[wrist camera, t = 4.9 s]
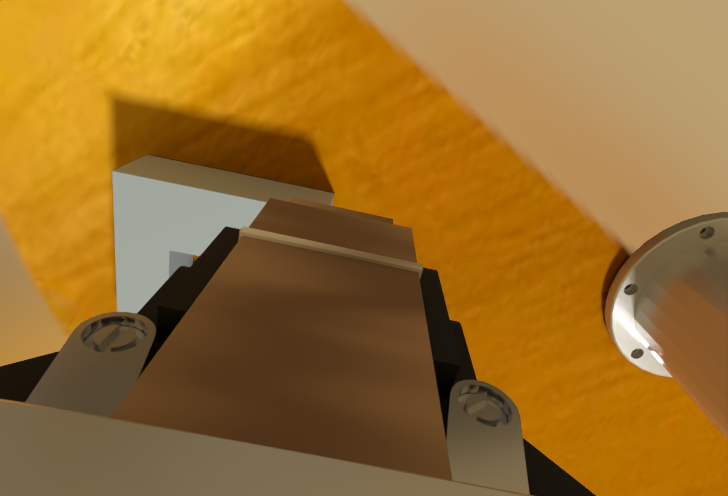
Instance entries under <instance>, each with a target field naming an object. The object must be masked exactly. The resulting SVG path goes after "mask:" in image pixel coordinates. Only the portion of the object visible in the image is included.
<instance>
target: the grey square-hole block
mask: <svg viewBox="0 0 728 496" xmlns="http://www.w3.org/2000/svg"><path fill="white" fill-rule="evenodd" d="M112 177H113V206H114V234H115V262H116V291H117V312H130V313H136V314H137V313H138V312H139V311H140V309H141V308H142V307H143V306H144V305H145V304H146V303H147V302H148V301H149V300H150V298H151V297H152V296H153V295H154V294H155V293H156V292H157V291H158V290H159V289H160V287H161V286H162V285H163V284H164V283H165V282H166V281H167V280H168V279H169V278H170V276H171V275H172V274H173V273H174V272H175V271H176V270H177V269H178V268H179V267H180V266H187V267H191V266H192V265H193V258H194V255H196V256H200V255H201V254H202V253H203V252H204V251H205V249H206V248H207V247H208V246H209V245H210V244H211V242H212V241H213V240H214V239H215V238H216V237H217V235H218V234H219V233H220V232H221V231H222V230H223V229H224V227H226V226H227V227H232V228H237V229H242V227H243V226H244V227H249V226H250V225H251V223H252V222H253V221H254V219H255V218H256V217H257V215H258V214H259V212H260V211H261V210H262V208H263V207H264V206H265V204H266V203H267V201H268V200H269V199H270V198H273V199H278V200H282V201H287V202H290V201H291V199H292V198H297V199H301V200H306V201H311V202H315V203H320V204H325V205H329V206H332V204H333V198H334V193H331V192H326V191H321V190H316V189H311V188H307V187H302V186H297V185H292V184H287V183H282V182H278V181H273V180H268V179H263V178H258V177H253V176H248V175H244V174H239V173H234V172H229V171H224V170H219V169H215V168H210V167H205V166H200V165H195V164H190V163H185V162H181V161H176V160H171V159H166V158H161V157H156V156H152V155H145V156H143V157H141V158H139V159H137V160H135V161H132V162H130V163H128V164H126V165H124V166H122V167H120V168H118V169H115V170H113V171H112Z"/></svg>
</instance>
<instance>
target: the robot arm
mask: <svg viewBox="0 0 728 496" xmlns="http://www.w3.org/2000/svg"><path fill="white" fill-rule="evenodd" d="M240 230H241V229H237V228H232V227H227V226H226V227H224V229H223V230H222V231H221V232H220V233H219V234H218V235H217V237H216V238H215V239H214V240H213V241H212V242H211V244H210V245H209V246H208V247H207V248H206V249H205V251H204V252H203V253H202V254H201V255H200V256H199V258H198V259H197V260H196V261H195V262H194V263H193V265H192V266H191V267H187V266H180V267H179V268H178V269H177V270H176V271H175V272H174V273H173V274H172V275H171V276H170V278H169V279H168V280H167V281H166V282H165V283H164V284H163V285H162V286H161V287H160V289H159V290H158V291H157V292H156V293H155V294H154V295H153V296H152V297H151V298H150V300H149V301H148V302H147V303H146V304H145V305H144V306H143V307H142V308H141V309H140V311H139V312H138V313H137V314H136V313H130V312H111V313H105V314H100V315H98V316H95V317H92V318H89V319H88V320H86V321H84V322H82V323H81V324H80V325H79V326H78V327H77V328H76V329H75V330H74V331H73V332H72V334H71V335H70V337H69V338H68V340H67V341H66V343H65V344H64V346H63V347H62V348H61V350H60V351H59V352H55V353H51V354H47V355H43V356H39V357H35V358H32V359H28V360H24V361H20V362H16V363H13V364H9V365H5V366H1V367H0V496H596V495H594V494H593V493H592V492H590V491H589V490H588V489H587V488H585V487H584V486H583V485H582V484H580V483H579V482H578V481H577V480H575V479H574V478H573V477H571V476H570V475H569V474H568V473H566V472H565V471H564V470H563V469H561V468H560V467H559V466H558V465H556V464H555V463H554V462H553V461H551V460H550V459H549V458H547V457H546V456H545V455H544V454H542V453H541V452H540V451H539V450H537V449H536V448H535V447H534V446H532V445H531V444H530V443H529V442H527V441H526V440H525V439H523V437H522V429H521V421H520V415H519V412H518V409H517V407H516V406H515V404H514V403H513V401H512V400H511V399H510V398H509V397H508V396H507V395H506V394H505V393H504V392H502V391H501V390H499V389H498V388H496V387H495V386H492V385H490V384H488V383H485V382H482V381H477V379H476V376H475V372H474V369H473V365H472V362H471V358H470V355H469V351H468V348H467V344H466V341H465V337H464V334H463V330H462V327H461V324H460V323H459V322H457V321H452V320H449V316H448V312H447V308H446V304H445V300H444V296H443V292H442V288H441V284H440V280H439V276H438V272H437V270H432V269H427V268H423V267H422V268H423V271H422V275H421V278H420V284H421V290H422V296H423V303H424V309H425V315H426V321H427V327H428V333H429V339H430V345H431V351H432V358H433V364H434V370H435V376H436V382H437V388H438V394H439V400H440V407H441V413H442V419H443V425H444V431H445V437H446V443H447V449H448V455H449V462H450V468H451V474H452V480H449V479H444V478H438V477H433V476H428V475H423V474H417V473H412V472H407V471H401V470H396V469H390V468H385V467H379V466H374V465H369V464H363V463H358V462H352V461H347V460H341V459H336V458H331V457H325V456H320V455H314V454H309V453H303V452H298V451H292V450H287V449H281V448H276V447H270V446H265V445H259V444H254V443H248V442H243V441H237V440H232V439H226V438H221V437H215V436H210V435H204V434H199V433H193V432H188V431H182V430H176V429H171V428H165V427H160V426H154V425H149V424H143V423H137V422H132V421H126V420H120V419H115V418H110V416H111V415H112V414H113V412H114V411H115V409H116V408H117V407H118V405H119V404H120V403H121V401H122V400H123V399H124V397H125V396H126V394H127V393H128V392H129V390H130V389H131V388H132V386H133V385H134V383H135V382H136V381H137V379H138V378H139V377H140V375H141V374H142V373H143V371H144V370H145V368H146V367H147V366H148V364H149V363H150V362H151V360H152V359H153V357H154V356H155V355H156V353H157V352H158V351H159V349H160V348H161V347H162V345H163V344H164V342H165V341H166V340H167V338H168V337H169V336H170V334H171V333H172V331H173V330H174V329H175V327H176V326H177V325H178V323H179V322H180V321H181V319H182V318H183V316H184V315H185V314H186V312H187V311H188V310H189V308H190V307H191V305H192V304H193V303H194V301H195V300H196V299H197V297H198V296H199V295H200V293H201V292H202V290H203V289H204V288H205V286H206V285H207V284H208V282H209V281H210V279H211V278H212V277H213V275H214V274H215V273H216V271H217V270H218V269H219V267H220V266H221V264H222V263H223V262H224V260H225V259H226V258H227V256H228V255H229V253H230V252H231V251H232V249H233V248H234V247H235V245H236V244H237V243H238V240H239V231H240ZM605 321H606V328H607V330H608V333H609V335H610V338H611V340H612V341H613V343H614V344H615V346H616V347H617V348H618V350H619V351H620V352H621V353H622V355H623V356H624V357H625V358H626V359H627V360H628V361H629V362H631V363H632V364H634V365H635V366H637V367H638V368H640V369H642V370H644V371H647V372H650V373H652V374H655V375H660V376H665V377H670V378H674V379H675V380H676V381H677V383H678V384H679V385H680V386H681V387H682V388H683V389H684V391H685V392H686V393H687V394H688V395H689V396H690V397H691V398H692V400H693V401H694V402H695V403H696V404H697V405H698V406H699V408H700V409H701V410H702V411H703V412H704V413H705V414H706V415H707V417H708V418H709V419H710V420H711V421H712V422H713V423H714V425H715V426H716V427H717V428H718V429H719V430H720V431H721V433H722V434H723V435H724V436H725V437H726V438H727V439H728V212H722V213H715V214H708V215H702V216H699V217H695V218H692V219H689V220H685V221H682V222H680V223H678V224H676V225H674V226H672V227H670V228H668V229H665V230H663V231H662V232H660V233H659V234H657V235H656V236H654V237H653V238H651V239H650V240H648V241H647V242H645V243H644V244H643V245H642V246H641V247H640V248H639V249H638V250H636V251H635V252H634V253H633V254H632V255H631V256H630V257H629V259H628V260H627V261H626V262H625V264H624V265H623V266H622V267H621V268H620V270H619V272H618V273H617V275H616V277H615V279H614V280H613V282H612V284H611V286H610V289H609V292H608V295H607V298H606V305H605Z"/></svg>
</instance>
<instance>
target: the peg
mask: <svg viewBox="0 0 728 496" xmlns="http://www.w3.org/2000/svg"><path fill="white" fill-rule="evenodd" d="M422 271H423V268H422V264H419V263H417V260H416V254H415V248H414V241H413V235H412V229H411V228H408V227H403V226H398V225H394V224H393V219H389V218H385V217H380V216H376V215H371V214H366V213H362V212H357V211H352V210H348V209H343V208H339V207H334V206H329V205H325V204H320V203H315V202H311V201H306V200H301V199H297V198H292V199H291V201H290V202H287V201H282V200H278V199H273V198H270V199H269V200H268V201H267V203H266V204H265V206H264V207H263V208H262V210H261V211H260V212H259V214H258V215H257V217H256V218H255V219H254V221H253V222H252V223H251V225H250V226H249V227H244V226H243V227H242V229H241V230H240V231H239V240H238V243H237V244H236V245H235V247H234V248H233V249H232V251H231V252H230V253H229V255H228V256H227V258H226V259H225V260H224V262H223V263H222V264H221V266H220V267H219V269H218V270H217V271H216V273H215V274H214V275H213V277H212V278H211V279H210V281H209V282H208V284H207V285H206V286H205V288H204V289H203V290H202V292H201V293H200V295H199V296H198V297H197V299H196V300H195V301H194V303H193V304H192V305H191V307H190V308H189V310H188V311H187V312H186V314H185V315H184V316H183V318H182V319H181V321H180V322H179V323H178V325H177V326H176V327H175V329H174V330H173V331H172V333H171V334H170V336H169V337H168V338H167V340H166V341H165V342H164V344H163V345H162V347H161V348H160V349H159V351H158V352H157V353H156V355H155V356H154V357H153V359H152V360H151V362H150V363H149V364H148V366H147V367H146V368H145V370H144V371H143V373H142V374H141V375H140V377H139V378H138V379H137V381H136V382H135V383H134V385H133V386H132V388H131V389H130V390H129V392H128V393H127V394H126V396H125V397H124V399H123V400H122V401H121V403H120V404H119V405H118V407H117V408H116V409H115V411H114V412H113V414H112V415H111V416H110V418H115V419H120V420H126V421H132V422H137V423H143V424H149V425H154V426H160V427H165V428H171V429H176V430H182V431H188V432H193V433H199V434H204V435H210V436H215V437H221V438H226V439H232V440H237V441H243V442H248V443H254V444H259V445H265V446H270V447H276V448H281V449H287V450H292V451H298V452H303V453H309V454H314V455H320V456H325V457H331V458H336V459H341V460H347V461H352V462H358V463H363V464H369V465H374V466H379V467H385V468H390V469H396V470H401V471H407V472H412V473H417V474H423V475H428V476H433V477H438V478H444V479H449V480H452V474H451V468H450V462H449V455H448V449H447V443H446V437H445V431H444V425H443V419H442V413H441V407H440V400H439V394H438V388H437V382H436V376H435V370H434V364H433V358H432V351H431V345H430V339H429V333H428V327H427V321H426V315H425V309H424V303H423V296H422V290H421V284H420V278H421V275H422Z"/></svg>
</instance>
